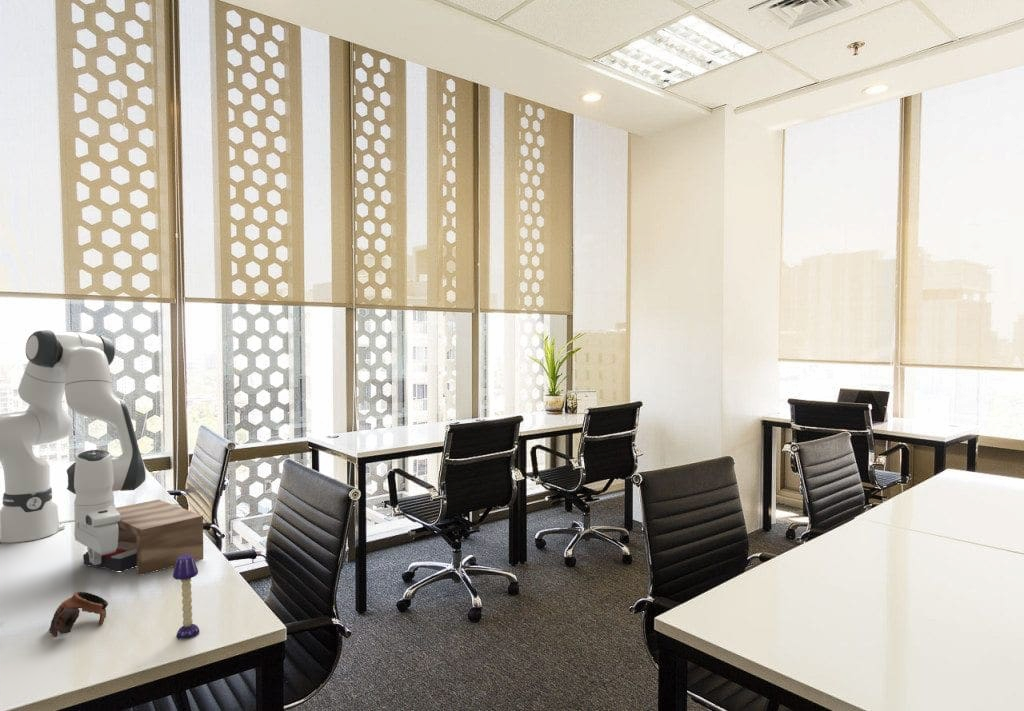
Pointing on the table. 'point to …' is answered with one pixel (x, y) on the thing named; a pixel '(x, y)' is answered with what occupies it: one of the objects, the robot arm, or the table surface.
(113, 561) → the calculator
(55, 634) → the brown curved loop
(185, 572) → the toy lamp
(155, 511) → the monitor riser
